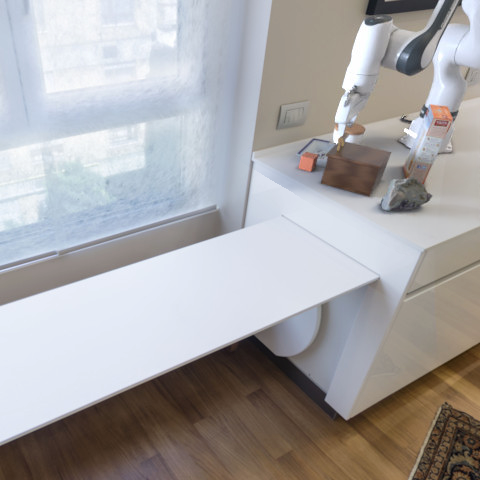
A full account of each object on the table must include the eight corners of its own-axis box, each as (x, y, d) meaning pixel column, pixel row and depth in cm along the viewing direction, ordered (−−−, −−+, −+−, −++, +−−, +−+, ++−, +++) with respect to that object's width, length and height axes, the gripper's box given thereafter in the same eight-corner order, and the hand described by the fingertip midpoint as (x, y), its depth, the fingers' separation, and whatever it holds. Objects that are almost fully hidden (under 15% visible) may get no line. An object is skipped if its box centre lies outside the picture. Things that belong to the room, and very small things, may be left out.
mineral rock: (426, 206, 134) (441, 174, 127) (424, 222, 127) (439, 189, 120) (382, 196, 138) (394, 165, 131) (377, 211, 131) (390, 179, 124)
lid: (325, 156, 139) (330, 139, 135) (339, 142, 147) (343, 127, 143) (379, 169, 132) (385, 152, 128) (390, 154, 140) (396, 138, 137)
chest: (320, 183, 144) (328, 156, 138) (334, 169, 153) (341, 143, 147) (369, 196, 138) (379, 169, 132) (380, 180, 146) (390, 154, 140)
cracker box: (424, 185, 144) (454, 119, 130) (404, 182, 146) (432, 116, 131) (421, 168, 154) (449, 105, 140) (403, 166, 155) (428, 103, 141)
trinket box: (360, 154, 162) (369, 128, 156) (330, 152, 164) (338, 126, 157) (356, 143, 170) (364, 118, 164) (328, 141, 171) (335, 116, 165)
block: (303, 164, 155) (306, 151, 152) (315, 167, 153) (318, 154, 150) (298, 168, 153) (301, 155, 149) (310, 171, 151) (314, 159, 148)
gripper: (360, 92, 120) (344, 143, 130) (379, 77, 133) (364, 124, 142) (337, 88, 123) (324, 138, 132) (358, 73, 136) (344, 120, 145)
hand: (344, 130), depth 137 cm, fingers open, 8 cm apart
